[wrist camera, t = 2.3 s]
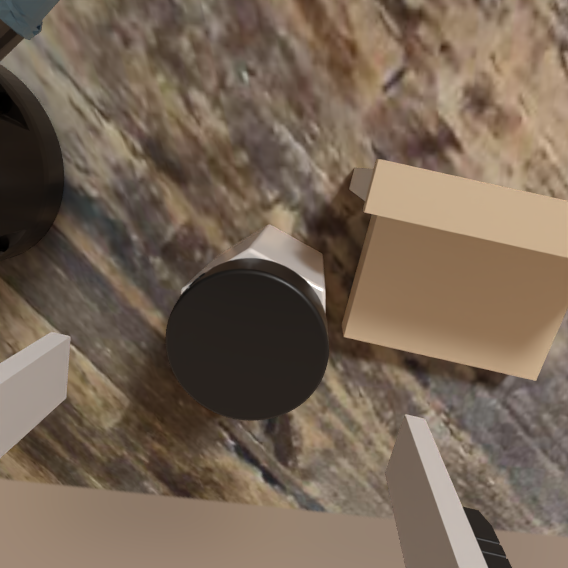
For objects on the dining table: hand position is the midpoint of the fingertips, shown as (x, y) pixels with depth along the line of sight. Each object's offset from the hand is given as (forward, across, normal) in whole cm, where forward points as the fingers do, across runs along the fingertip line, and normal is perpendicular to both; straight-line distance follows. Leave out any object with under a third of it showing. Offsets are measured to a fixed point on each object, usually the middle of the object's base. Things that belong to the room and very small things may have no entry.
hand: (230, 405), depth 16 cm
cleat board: (+17, +13, +4) cm, 21 cm away
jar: (+17, 0, 0) cm, 17 cm away
